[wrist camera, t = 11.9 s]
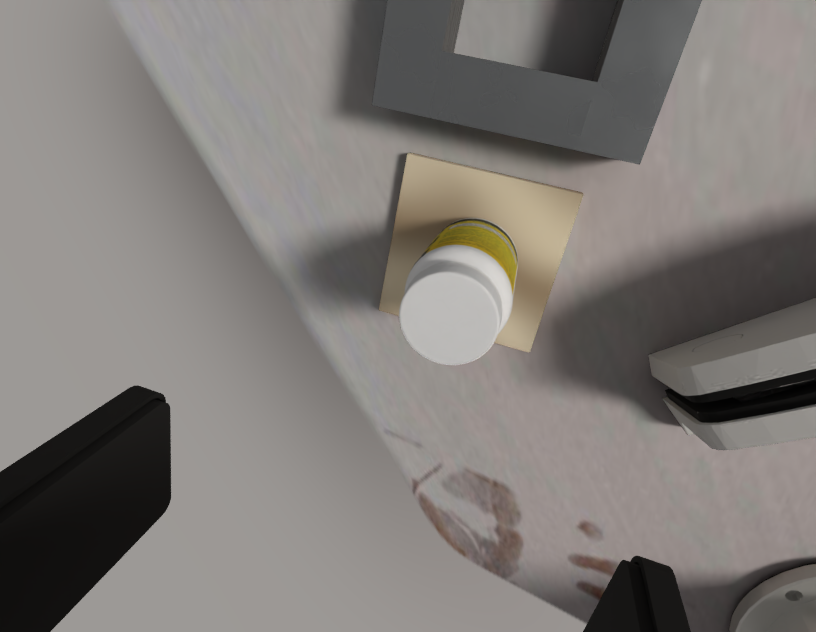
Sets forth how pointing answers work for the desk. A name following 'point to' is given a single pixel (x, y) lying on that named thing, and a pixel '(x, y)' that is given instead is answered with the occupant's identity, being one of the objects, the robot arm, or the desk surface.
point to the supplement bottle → (460, 292)
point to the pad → (492, 200)
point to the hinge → (745, 380)
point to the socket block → (536, 78)
